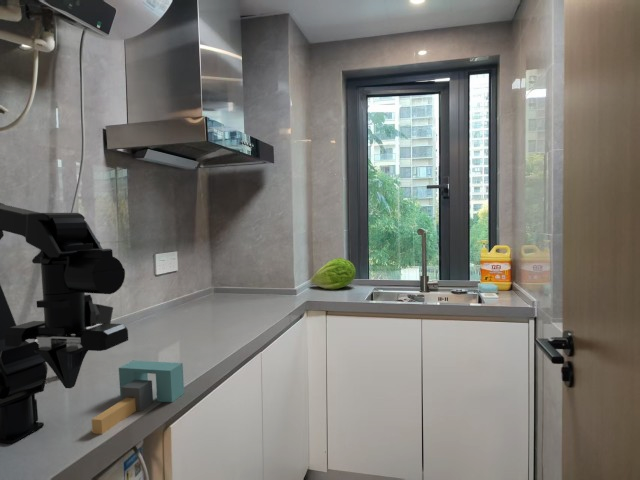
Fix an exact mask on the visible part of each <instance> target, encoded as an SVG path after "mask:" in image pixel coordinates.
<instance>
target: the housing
mask: <svg viewBox="0 0 640 480" xmlns="http://www.w3.org/2000/svg"><path fill="white" fill-rule="evenodd" d="M148 374H152V375H153V374H154V375H155V384H156V385H155V387H156V400H157V401H156V402H159V403H160V402H161V403H174V402H175V401H177V399H178V398H180V397H181V396H182V395H184V394H185V385H184V384H185V383H184V381H185V379H184V366H183V362H172V361H171V362H166V361H152V360H151V361H149V360H147V361H146V360H132V361H129V362H128V363H125V364H123V365H121V366H120V367H118V377H119V378H118V379H119V395H120V399H121V400H122V392H121V387H122V386H124V385H126V384H128V383H129V382H131V381H133V380H149V378H148V377H149V376H148Z"/></svg>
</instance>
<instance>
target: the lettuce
mask: <svg viewBox="0 0 640 480" xmlns="http://www.w3.org/2000/svg"><path fill="white" fill-rule="evenodd" d="M356 271H357V270H356V267H355V265H354V263H353V262H351V261H350V260H348V259H345V258H343V257H337V258H335V259H331V260H330V261H327V263H325V265H323V266H322V267H320V269H318V270H317V272H316V273H315V274H314V275H313V276H312V277H311V278H310V283H311V284H312V285H313V286H318V287H320V288H322V289H325V290H338V289H342V288H343V287H346V286H349V285H351V284H352V282H353V281H354V280H355V278H356V274H357V272H356Z"/></svg>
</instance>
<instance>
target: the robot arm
mask: <svg viewBox="0 0 640 480" xmlns="http://www.w3.org/2000/svg"><path fill="white" fill-rule="evenodd" d="M85 219H86V218H85V216H84V215H83V214H81V213H79V212H38V211H35V210H29V209H25V208H20V207H16V206H12V205H9V204H5V203H1V202H0V241H1V240H2V238H3V237H4V232H7V233H11V234H14V235H17V236H18V235H19V236H21V237H24V239H25V242H26V243H27V244H28V245H31V246H32V247H34V248H36V249H37V250H40V252H39V253H38V254H37V255H35V256H34V257H33V259H32V260H31V261H32V262H31V263H32V264H37V265H38V264H39V265H40V270H41V272H40V273H41V286H42V299H40V300H36V308H40V309H41V308H43V315H44V317H43V318H44V320H32V321H28V322H25V323H20V324H18V325H17V323H16V321H15V318H14V315H13V313H12V309H11V308H10V306H9V303H8V301H7V298H6V295H5V293H4V290H3V288H2V285H1V284H0V443H3V444H4V443H5V444H13V443H16V442H18V441H19V440H21V439H23V438H24V437H26V436H28V435H30V434H32V433H33V432H35V431H37V430H40V428H42V427H44V426H45V423H44V422H40V421H39V415H38V414H39V412H38V411H39V410H38V402H37V398H36V394H38V393H42V392H44V391H45V385H46V381H47V376H48V370H49V369H48V366H49V367H50V369H51V370H52V371H53V372H54V374H55V375H56V377H57V378H58V380H59V381H60V382H61V385H63V387H64V388H65V389H72V388H73V387H76V383H77V380H78V376H79V374H80V371H81V368H82V365H83V362H84V359H85V357H86V354H87V353H88V352H89V351H96V352H102V351H106V350H109V349H111V348H114V347H117V346H119V345H120V344H123V343H125V342H127V341H129V330H128V327H127V326H125V324H124V323H111V322H112V316H113V311H114V307H112V306H109V305H108V306H107V305H103V304H98V303H94V302H93V297H92V295H91V294H98V295H99V294H100V295H113V294H115V293H117V292H118V291H119V290H120V288H121V287H122V286H123V284H124V283H125V282H124V281H125V277H126V270H125V268H124V266H123V264H122V262H121V261H120V260H119V259H118V258H117V257H115V256H113V253H114V252H113V249H112V248H103V247H102V245H101V242H100V241H99V240H98V239H97V237H96V236H95V234H94V232H93V231H92V229H91V227H90V225H89V224H88V222H87V221H86V220H85ZM98 324H99V325H98ZM96 325H97V326H96ZM88 327H90V328H88ZM87 328H88V329H87ZM71 334H72V335H71ZM27 340H37V341H38V342H37V341H31V342H29V341H27Z"/></svg>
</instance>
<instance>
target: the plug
mask: <svg viewBox="0 0 640 480" xmlns="http://www.w3.org/2000/svg"><path fill="white" fill-rule="evenodd" d="M121 392H122V399H121V400H120V401H118V402H117V403H115V404H114V405H112V406H111V407H109V408H108V409H106V410H104V411H103V412H101V413H99V414H98V415H96V416H94V417H92V418H91V430H92V433H91V434H95V435H96V434H97V435H103V434H105V433H106V432H108V431H109V430H111V429H112V428H113V427H115V426H116V425H118V424H119V423H121V422H122V421H123V419H124V420H125V419H126V418H128V417H129V416H131V415H132V414H133V413H135V412H141V411H143V410H145V409H146V408H148V407H149V406H150V405H151V404H153V403H154V395H153V394H154V393H153V380H149V379H148V380H133V381H131V382H129V383H128V384H126V385H124V386H122V387H121ZM120 421H121V422H120ZM118 422H119V423H118ZM117 423H118V424H117Z"/></svg>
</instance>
